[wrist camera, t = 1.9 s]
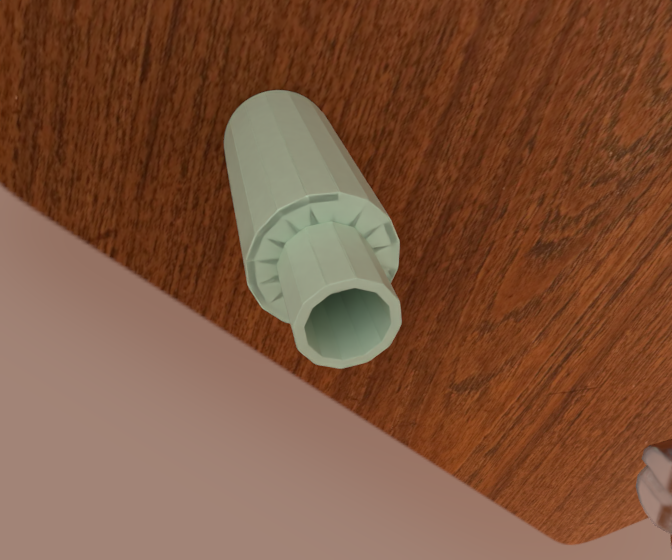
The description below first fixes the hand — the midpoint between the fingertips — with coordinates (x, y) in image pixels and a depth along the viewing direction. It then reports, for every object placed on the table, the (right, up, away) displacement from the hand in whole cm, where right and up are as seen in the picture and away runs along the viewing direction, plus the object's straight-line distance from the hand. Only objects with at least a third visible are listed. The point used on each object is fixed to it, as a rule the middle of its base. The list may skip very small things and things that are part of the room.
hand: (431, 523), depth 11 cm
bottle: (-4, +10, +15) cm, 19 cm away
